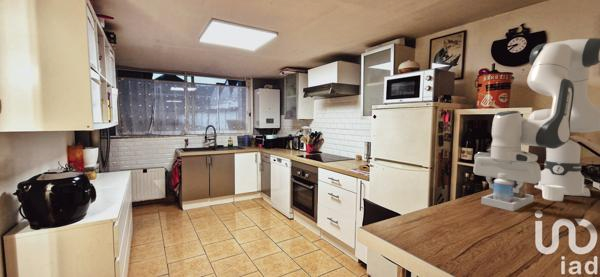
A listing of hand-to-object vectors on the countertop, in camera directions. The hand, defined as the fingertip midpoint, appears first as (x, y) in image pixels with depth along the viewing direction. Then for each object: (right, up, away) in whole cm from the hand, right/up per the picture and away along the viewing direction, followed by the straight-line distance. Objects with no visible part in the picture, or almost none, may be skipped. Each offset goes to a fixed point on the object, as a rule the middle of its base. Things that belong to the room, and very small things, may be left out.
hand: (503, 190), depth 98 cm
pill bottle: (0, -5, 0) cm, 5 cm away
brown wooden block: (+8, -5, +5) cm, 11 cm away
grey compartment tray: (+4, -7, +3) cm, 8 cm away
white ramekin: (+26, -7, +7) cm, 28 cm away
